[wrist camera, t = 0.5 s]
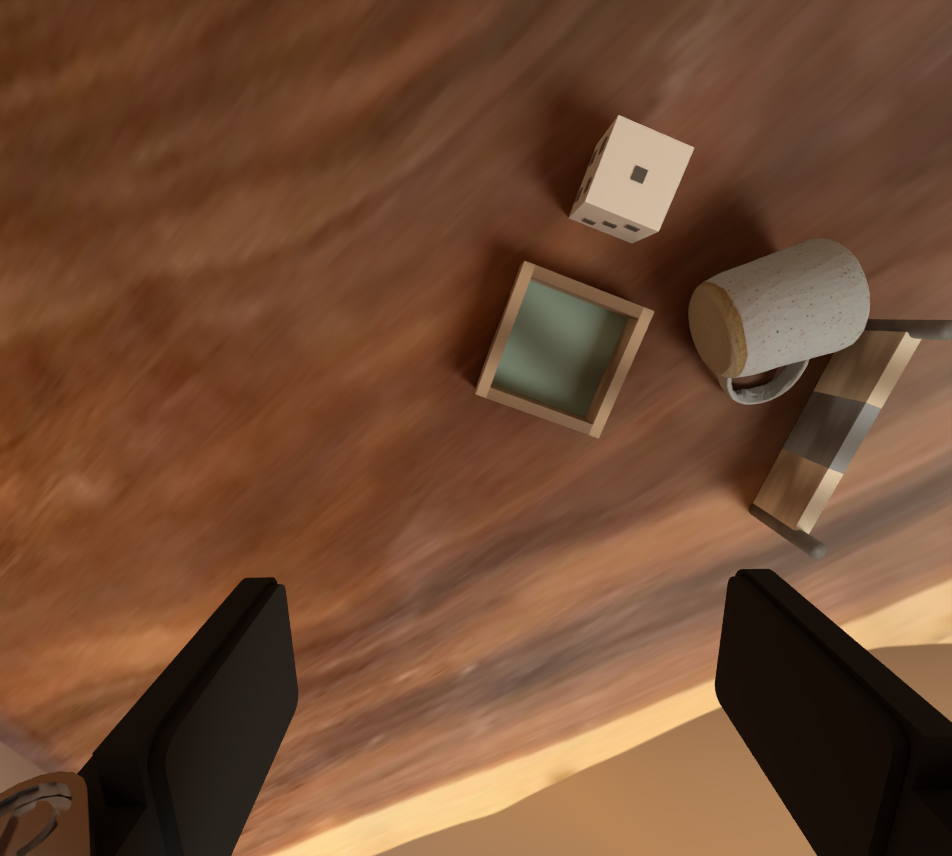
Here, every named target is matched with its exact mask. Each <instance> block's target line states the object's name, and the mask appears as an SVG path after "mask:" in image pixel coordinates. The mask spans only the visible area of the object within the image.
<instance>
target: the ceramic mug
mask: <svg viewBox="0 0 952 856" xmlns="http://www.w3.org/2000/svg"><path fill="white" fill-rule="evenodd" d="M869 297H870V294H869V287H868V284H867V280H866V277H865V275H864V272H863V270H862V268H861V266H860V264H859V262H858V260H857V259H856V258H855V256H854V255H853V254H852V253H851V252H850V251H849V250H848V249H847V248H846V247H844V246H843V245H842V244H840V243H839V242H837V241H834V240H831V239H827V238H815V239H810V240H807V241H804V242H802V243H799V244H797V245H794V246H791V247H789V248H786V249H783V250H780V251H778V252H775V253H772V254H770V255H767V256H764V257H762V258H759V259H757V260H754V261H752V262H749V263H746V264H743V265H741V266H738V267H735V268H732V269H730V270H727V271H724V272H721V273H719V274H717V275H715V276H713V277H712V278H710V279H708V280H706V281H704V282H703V283H701V284H700V285H699V286H697V288H696V289H695V291H694V292H693V294H692V297H691V299H690V303H689V309H688V318H689V327H690V331H691V335H692V339H693V341H694V344H695V347H696V349H697V351H698V353H699V355H700V357H701V358H702V360H703V361H704V363H705V364H706V365H707V366H708V367H709V368H710V369H711V370H712V371H713V372H715V373H716V374H718V375H717V376H718V381H719V384H720V386H721V388H722V389H723V390H724V392H725V393H726V394H727V395H728V396H729V397H730V398H731V399H733V400H735V401H736V402H739V403H742V404H759V403H763V402H767V401H770V400H772V399H774V398H776V397H778V396H780V395H782V394H783V393H785V392H786V391H787V390H789V389H790V388H791V387H792V386H793V385H794V384H795V383H796V382H797V380H798V379H799V378H800V377H801V375H802V373H803V372H804V370H805V369H806V367H807V365H808V362H809V359H811V358H814V357H818V356H822V355H826V354H830V353H833V352H837V351H840V350H842V349H844V348H846V347H848V346H850V345H852V344H854V342H855V341H856V340H857V339H858V338H859V337H860V335H861V334H862V332H863V331H864V328H865V326H866V323H867V320H868V317H869V310H870V299H869ZM784 365H786V366H785V368H784V369H783V370H782V372H781V373H780V374H779V375H778V376H777V377H776V378H775V379H774V380H772V381H771V382H769V383H767V384H765V385H762V386H758V387H754V388H749V389H740V390H737V391H735V390H732V385H731V378H736V377H744V376H750V375H755V374H758V373H762V372H765V371H768V370H771V369H774V368H777V367H780V366H784Z"/></svg>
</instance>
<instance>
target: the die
mask: <svg viewBox="0 0 952 856" xmlns="http://www.w3.org/2000/svg"><path fill="white" fill-rule="evenodd" d="M693 150H694V147H692V146H689V145H687V144H685V143H682V142H680V141H678V140H675V139H673V138H671V137H668V136H666V135H664V134H661V133H659V132H657V131H654V130H652V129H650V128H648V127H645V126H643V125H641V124H638V123H636V122H634V121H631V120H629V119H627V118H624V117H622V116H620V115H618V116H617V118H616V119H615V120H614V122H613V123H612V124H611V126H610V127H609V128H608V130H607V131H606V133H605V134H604V135H603V137H602V138H601V139H600V141H599V142H598V143H597V145H596V147H595V150H594V152H593V155H592V158H591V160H590V163H589V165H588V168H587V171H586V173H585V176H584V179H583V181H582V184H581V186H580V189H579V192H578V194H577V197H576V200H575V202H574V205H573V207H572V210H571V213H570V215H569V218H570V219H572V220H575V221H577V222H580V223H582V224H585V225H587V226H590V227H592V228H595V229H597V230H600V231H602V232H604V233H607V234H609V235H612V236H614V237H617V238H619V239H622V240H624V241H627V242H629V243H634V242H637V241H639V240H641V239H643V238H646V237H648V236H650V235H652V234H655V233H657V232H659V230H660V227H661V225H662V223H663V220H664V218H665V216H666V213H667V211H668V209H669V206H670V204H671V202H672V199H673V197H674V195H675V192H676V190H677V188H678V185H679V183H680V180H681V178H682V176H683V173H684V171H685V169H686V166H687V164H688V162H689V159H690V157H691V155H692V152H693Z"/></svg>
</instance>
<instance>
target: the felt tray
mask: <svg viewBox="0 0 952 856" xmlns="http://www.w3.org/2000/svg"><path fill="white" fill-rule="evenodd" d="M654 312H655V311H652V310H650V309H647V308H645V307H642V306H640V305H637V304H634V303H632V302H629V301H627V300H624V299H622V298H619V297H617V296H614V295H611V294H609V293H606V292H604V291H601V290H599V289H596V288H593V287H591V286H588V285H586V284H583V283H581V282H578V281H576V280H573V279H570V278H568V277H565V276H563V275H560V274H558V273H555V272H552V271H550V270H547V269H545V268H542V267H540V266H537V265H535V264H532V263H529V262H527V261H524V262H523V263H522V264H521V265H520V267H519V270H518V272H517V275H516V278H515V280H514V283H513V286H512V289H511V291H510V294H509V297H508V300H507V302H506V305H505V308H504V310H503V313H502V316H501V319H500V321H499V324H498V327H497V330H496V332H495V335H494V338H493V340H492V343H491V346H490V349H489V351H488V354H487V357H486V360H485V362H484V365H483V368H482V370H481V373H480V376H479V379H478V381H477V384H476V387H475V394H476V395H479V396H482V397H485V398H487V399H490V400H493V401H496V402H499V403H501V404H504V405H507V406H510V407H513V408H515V409H518V410H521V411H524V412H526V413H529V414H532V415H535V416H538V417H540V418H543V419H546V420H549V421H552V422H554V423H557V424H560V425H563V426H566V427H568V428H571V429H574V430H577V431H579V432H582V433H585V434H588V435H591V436H593V437H596V438H599V437H600V434H601V432H602V430H603V427H604V425H605V423H606V421H607V418H608V416H609V414H610V412H611V409H612V407H613V405H614V402H615V400H616V398H617V396H618V393H619V391H620V389H621V387H622V384H623V382H624V380H625V377H626V375H627V373H628V371H629V368H630V366H631V364H632V362H633V359H634V357H635V355H636V352H637V350H638V348H639V346H640V343H641V341H642V339H643V337H644V334H645V332H646V330H647V327H648V325H649V323H650V321H651V318H652V316H653V314H654Z"/></svg>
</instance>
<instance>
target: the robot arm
mask: <svg viewBox="0 0 952 856" xmlns="http://www.w3.org/2000/svg"><path fill="white" fill-rule="evenodd" d="M715 691H716V695H717V698H718V701H719V703H720V705H721V706H722V708H723V709H724V711H725V712H726V714H727V715H728V717H729V719H730V720H731V722H732V723H733V725H734V726H735V728H736V730H737V731H738V733H739V734H740V736H741V737H742V739H743V740H744V742H745V744H746V745H747V747H748V748H749V750H750V751H751V753H752V755H753V756H754V757H755V759H756V760H757V762H758V764H759V765H760V767H761V769H762V770H763V772H764V773H765V775H766V776H767V778H768V780H769V781H770V783H771V784H772V786H773V787H774V789H775V790H776V792H777V793H778V795H779V797H780V798H781V799H782V801H783V803H784V805H785V806H786V808H787V809H788V811H789V812H790V814H791V815H792V817H793V819H794V820H795V822H796V823H797V825H798V826H799V828H800V829H801V831H802V832H803V834H804V836H805V837H806V839H807V840H808V842H809V844H810V845H811V847H812V848H813V850H814V851H815V853H816V854H817V856H952V722H951V721H949V720H948V719H947V718H946V717H945V716H943V715H942V714H941V713H940V712H939V711H938V710H936V709H935V708H934V707H933V706H932V705H931V704H929V703H928V702H927V701H926V700H924V699H923V698H922V697H921V696H920V695H919V694H917V693H916V692H915V691H914V690H913V689H912V688H910V687H909V686H908V685H907V684H906V683H904V682H903V681H902V680H901V679H900V678H899V677H897V676H896V675H895V674H894V673H893V672H892V671H890V670H889V669H888V668H887V667H886V666H885V665H883V664H882V663H881V662H880V661H879V660H877V659H876V658H875V657H874V656H873V655H872V654H870V653H869V652H868V651H867V650H866V649H864V648H863V647H862V646H861V645H860V644H859V643H857V642H856V641H855V640H854V639H853V638H851V637H850V636H849V635H848V634H847V633H846V632H844V631H843V630H842V629H841V628H840V627H838V626H837V625H836V624H835V623H834V622H833V621H831V620H830V619H829V618H828V617H827V616H826V615H824V614H823V613H822V612H821V611H820V610H818V609H817V608H816V607H815V606H814V605H813V604H811V603H810V602H809V601H808V600H807V599H805V598H804V597H803V596H802V595H801V594H800V593H798V592H797V591H796V590H795V589H794V588H792V587H791V586H790V585H789V584H788V583H787V582H785V581H784V580H783V579H782V578H781V577H779V576H778V575H777V574H776V573H775V572H773V571H772V570H770V569H740V570H739V571H737V573H736V575H735V576H734V577H731V578H730V579H729V581H728V586H727V593H726V601H725V609H724V616H723V624H722V632H721V639H720V647H719V655H718V662H717V670H716V678H715ZM297 702H298V685H297V677H296V669H295V661H294V653H293V645H292V637H291V629H290V621H289V613H288V605H287V597H286V590H285V587H284V585H282V584H277V581H276V579H275V578H273V577H266V578H244V579H243V580H242V581H241V582H240V583H239V584H238V585H237V587H236V588H235V589H234V590H233V591H232V592H231V594H230V595H229V596H228V597H227V598H226V599H225V601H224V602H223V603H222V604H221V605H220V606H219V607H218V609H217V610H216V611H215V612H214V613H213V614H212V616H211V617H210V618H209V619H208V620H207V621H206V623H205V624H204V625H203V626H202V627H201V628H200V629H199V631H198V632H197V633H196V634H195V635H194V636H193V638H192V639H191V640H190V641H189V642H188V643H187V645H186V646H185V647H184V648H183V649H182V650H181V651H180V653H179V654H178V655H177V656H176V657H175V658H174V660H173V661H172V662H171V663H170V664H169V665H168V667H167V668H166V669H165V670H164V671H163V672H162V673H161V675H160V676H159V677H158V678H157V679H156V680H155V682H154V683H153V684H152V685H151V686H150V687H149V688H148V690H147V691H146V692H145V693H144V694H143V695H142V697H141V698H140V699H139V700H138V701H137V702H136V704H135V705H134V706H133V707H132V708H131V709H130V710H129V712H128V713H127V714H126V715H125V716H124V717H123V719H122V720H121V721H120V722H119V723H118V724H117V726H116V727H115V728H114V729H113V730H112V731H111V732H110V734H109V735H108V736H107V737H106V738H105V739H104V741H103V742H102V743H101V744H100V745H99V746H98V748H97V749H96V750H95V751H94V752H93V753H92V754H93V756H92V757H91V758H90V760H89V761H88V762H87V763H86V764H85V765H84V767H83V768H82V769H81V770H80V771H79V772H78V774H76V773H74V772H61V771H58V772H53V773H48V774H43V775H39V776H37V777H34V778H32V779H29V780H26V781H24V782H21V783H19V784H17V785H15V786H13V787H11V788H9V789H8V790H6V791H4V792H2V793H0V856H231V855H232V853H233V850H234V848H235V846H236V844H237V841H238V839H239V837H240V835H241V832H242V830H243V828H244V826H245V823H246V821H247V819H248V817H249V814H250V812H251V810H252V808H253V805H254V803H255V801H256V799H257V796H258V794H259V792H260V790H261V787H262V785H263V783H264V781H265V778H266V776H267V774H268V772H269V769H270V767H271V765H272V762H273V760H274V758H275V756H276V753H277V751H278V749H279V747H280V744H281V742H282V740H283V738H284V735H285V733H286V731H287V729H288V726H289V724H290V722H291V720H292V717H293V715H294V713H295V710H296V707H297Z"/></svg>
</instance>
